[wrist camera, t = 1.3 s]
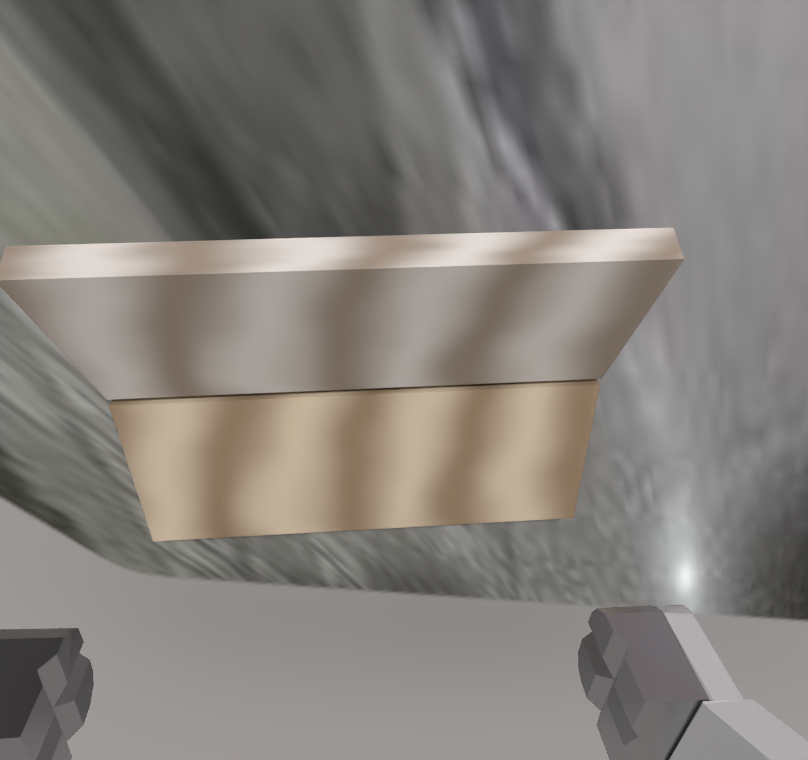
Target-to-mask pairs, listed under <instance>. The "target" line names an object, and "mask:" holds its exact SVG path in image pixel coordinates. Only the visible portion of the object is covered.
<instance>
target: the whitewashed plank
mask: <svg viewBox="0 0 808 760" xmlns="http://www.w3.org/2000/svg"><path fill="white" fill-rule="evenodd" d="M683 260H684V256H683V254H682V251H681V248H680V245H679V242H678V240H677V237H676V234H675V231H674V228H643V229H608V230H572V231H536V232H500V233H465V234H429V235H393V236H357V237H322V238H286V239H250V240H214V241H179V242H143V243H107V244H71V245H36V246H6V247H5V250H4V253H3V256H2V259H1V263H0V286H1V287H2V289H3V290H4V291H5V292H6V293H7V294H8V295H9V296H10V297H11V298H12V299H13V300H14V301H15V302H16V303H17V305H18V306H19V307H20V308H21V309H22V310H23V311H24V312H25V313H26V314H27V315H28V316H29V317H30V318H31V319H32V320H33V322H34V323H35V324H36V325H37V326H38V327H39V328H40V329H41V330H42V331H43V332H44V333H45V334H46V335H47V336H48V338H49V339H50V340H51V341H52V342H53V343H54V344H55V345H56V346H57V347H58V348H59V349H60V350H61V351H62V352H63V354H64V355H65V356H66V357H67V358H68V359H69V360H70V361H71V362H72V363H73V364H74V365H75V366H76V367H77V368H78V369H79V371H80V372H81V373H82V374H83V375H84V376H85V377H86V378H87V379H88V380H89V381H90V382H91V383H92V384H93V385H94V387H95V388H96V389H97V390H98V391H99V392H100V393H101V394H102V395H103V396H104V397H105V398H106V399H107V400H111V399H135V398H159V397H182V396H206V395H229V394H253V393H276V392H300V391H324V390H347V389H371V388H394V387H418V386H441V385H465V384H488V383H512V382H536V381H559V380H583V379H602V377H603V376H604V374H605V373H606V372H607V370H608V369H609V367H610V366H611V364H612V363H613V361H614V360H615V359H616V357H617V356H618V354H619V353H620V351H621V350H622V348H623V347H624V346H625V344H626V343H627V341H628V340H629V338H630V337H631V335H632V334H633V333H634V331H635V330H636V328H637V327H638V325H639V324H640V322H641V321H642V320H643V318H644V317H645V315H646V314H647V312H648V311H649V309H650V308H651V307H652V305H653V304H654V302H655V301H656V299H657V298H658V296H659V295H660V294H661V292H662V291H663V289H664V288H665V286H666V285H667V283H668V282H669V281H670V279H671V278H672V276H673V275H674V273H675V272H676V270H677V269H678V268H679V266H680V265H681V263H682V262H683Z"/></svg>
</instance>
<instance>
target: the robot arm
mask: <svg viewBox="0 0 808 760" xmlns="http://www.w3.org/2000/svg"><path fill="white" fill-rule="evenodd" d="M588 623H589V625H590V628H591V630H592V632H591V633H590V634H588V635H587V636H586V637H584V638H583V639H582V641H581V645H580V648H579V651H578V666H579V673H580V678H581V682H582V685H583V688H584V691H585V694H586V697H587V698H588V699H589V700H590V701H591V702H592V703H593V704H594V705H595V706H596V707H597V708H598V709H600V710H601V712H600V716H599V719H598V723H597V727H598V730H599V732H600V735H601V738H602V740H603V743H604V746H605V748H606V751H607V754H608V756H609V759H610V760H808V742H807V741H806V740H805V739H804V738H802V737H801V736H800V735H798V734H797V733H796V732H795V731H793V730H792V729H791V728H789V727H788V726H787V725H786V724H784V723H783V722H782V721H780V720H779V719H778V718H777V717H775V716H774V715H773V714H771V713H770V712H769V711H768V710H766V709H765V708H764V707H762V706H761V705H760V704H759V703H757V702H756V701H755V700H753V699H743V697H742V695H741V694H740V692H739V690H738V689H737V687H736V686H735V684H734V682H733V680H732V679H731V677H730V676H729V674H728V672H727V670H726V669H725V667H724V665H723V664H722V662H721V661H720V659H719V657H718V656H717V654H716V652H715V651H714V649H713V647H712V645H711V644H710V642H709V641H708V639H707V637H706V636H705V634H704V632H703V631H702V629H701V627H700V626H699V624H698V622H697V621H696V619H695V617H694V616H693V614H692V612H691V611H690V610H689V609H688V608H687V607H685V606H684V605H669V606H651V605H649V606H631V607H612V608H597V609H596V610H594V611H593V612H592V614H591V616H590V619H589V622H588ZM83 642H84V641H83V639H82V637H81V634H80V632H79V629H78V628H58V629H7V630H6V629H0V760H71V758H72V755H71V753H70V750H69V747H68V744H67V742H66V741H67V740H69V739H70V738H71V737H72V736H73V735H74V734H75V733H76V732H77V731H78V730H79V729H80V728H81V727H82V726H83V724H84V721H85V718H86V716H87V713H88V710H89V706H90V702H91V696H92V690H93V669H92V666H91V663H90V660H89V659H88V658H86V657H84V656H83V655H81V654H80V653H79V652H80V649H81V647H82V644H83Z"/></svg>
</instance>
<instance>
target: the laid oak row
mask: <svg viewBox="0 0 808 760" xmlns="http://www.w3.org/2000/svg"><path fill="white" fill-rule="evenodd" d="M599 389H600V384H599V382H598V381H597V379H583V380H559V381H536V382H512V383H488V384H465V385H441V386H418V387H394V388H371V389H347V390H324V391H300V392H276V393H253V394H229V395H206V396H182V397H159V398H135V399H113V400H112V402H111V404H110V405H109V408H110V411H111V414H112V417H113V420H114V423H115V426H116V429H117V432H118V435H119V438H120V441H121V444H122V447H123V450H124V453H125V456H126V460H127V463H128V466H129V469H130V472H131V475H132V478H133V481H134V484H135V487H136V490H137V493H138V496H139V499H140V502H141V505H142V508H143V511H144V514H145V518H146V521H147V524H148V527H149V530H150V533H151V536H152V539H153V541H169V540H187V539H205V538H222V537H240V536H258V535H276V534H294V533H312V532H330V531H348V530H366V529H384V528H402V527H420V526H438V525H455V524H473V523H491V522H509V521H527V520H545V519H563V518H573V517H574V512H575V507H576V502H577V497H578V492H579V487H580V482H581V477H582V472H583V467H584V463H585V458H586V453H587V448H588V443H589V438H590V433H591V428H592V423H593V418H594V413H595V408H596V404H597V399H598V394H599Z"/></svg>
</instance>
